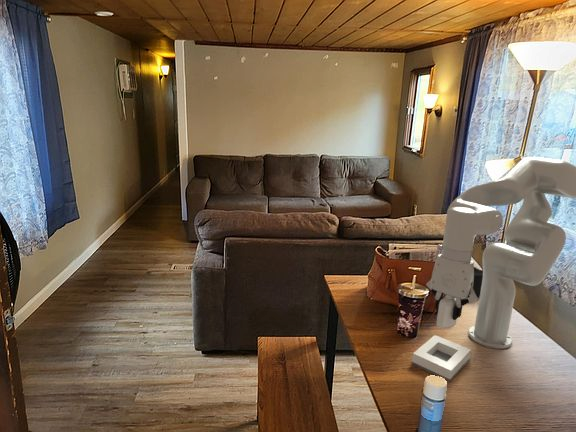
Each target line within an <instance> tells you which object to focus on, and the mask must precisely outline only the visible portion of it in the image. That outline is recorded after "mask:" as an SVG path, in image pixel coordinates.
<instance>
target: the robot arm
mask: <svg viewBox="0 0 576 432" xmlns="http://www.w3.org/2000/svg"><path fill="white" fill-rule="evenodd" d="M546 194H547V195H552V196H559V197H563V198H569V199H576V166H575V165H573V164H572V163H569V162H568V161H565V160H562V159H553V158H545V157H539V156H538V157H537V156H527V157H524V158H522V159H520V160H519V161H518V162H517V163H515V164H514V165H513V166H512V167H510V169H508V170H507V171H506V172H505V173H504V174H503V175H501V177H499V178H498V179H496V180H492V181H488V182H485V183H483V184H478V185H476V186H473V187H470V188H468V189H466V190H464V191H463V192H461V194H459V195H458V196H457V197H456V198H455V199H454V200H453V201H452V202H451V203H450V205H449V206H448V208H447V210H446V216H445V217H446V219H445V225H444V232H443V233H444V234H443V240H442V244H437V247H436V248H437V250H439V251H440V253H439V254H438V255H437V257H436V259H435V263H434V266H433V270H432V274H431V278H430V280H428V282H426V284H425V285H426V287H427V288H428V289H429V290H431V293H432V294H433V296H434V299H435V300H436V302H435V310H436V312H435V314H437V315H438V309H439V303H440V301H441V299H443V298H444V295H446V294H447V295H450V296H453V297H455V298H456V306H454V311H453V317H452V319H453V320H456V321H457V319H458V318H460V317H461V316H462V311H463V307H464V306H466V305H468V304H471V303H476V302H477V301H478V305H477V311H476V317H475V323H474V325H472V326H470V327H469V329H468V336H469V337H470V339H471V340H473V342H475V343H477V344H479V345H481V346H484V347H487V348H490V349H498V350H499V349H500V350H501V349H507V348H510V347H511V346H512V345H513V338H512V336H511V335H510V334H509V330H510V325H511V319H512V313H513V309H514V303H515V302H514V301H515V298H516V285H515V281H516V282H518V283H521V284H524V285H527V286H530V287H532V286H533V287H534V286H538V285H539V284H541V283H543V281H544V279H545V278H546V277H547V275H548V273H549V272H550V270H551V269H552V267H553V266H554V264H555V263H556V261H557V260H558V258H559V256H560V255H561V253H562V251H563V249H564V247H565V245H566V244H565V243H566V239H567V234H566V231H565V230H564V229H563V228H562V227H561V226H559V225H556V224H554V223H550V222H548V221H549V220H550V218H551V217H552V208H551V205H550V202H549V201H548V199H547V196H546ZM522 200H523V201H522ZM521 201H522V203H521V206H520V207H519V209H518V211H517V212H516V213H515V215H514V216H513V218H512V219H511V221H510V223H508V225H507V227H506V229H505V231H504V235H503V236H504V237H503V238H504V240H505V241H506V242H507V243H504V242H492V243H490V244H488V245H487V246H486V247H485V248H484V250H483V253H482V270H483V279H482V286H481V292H480V298H477V296H476V294H475V292H474V290H473V282H474V267H475V265H474V260H472V255H473V252H474V251H473V250H474V243H475V237H476V236H478V235H479V236H482V235H483V236H487V235H488V236H489V235H493V234H495V233H497V232H498V231H499V230H500V228H501V227H502V226H503V224H504V223H503V221H504V217H503V214H502V212H501V211H500V210H498V209H497V208H494V207H500V206H501V207H502V206H511V205H516V204H518V203H520V202H521ZM468 295H469V296H470V297H468Z"/></svg>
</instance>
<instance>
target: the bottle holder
mask: <svg viewBox="0 0 576 432" xmlns="http://www.w3.org/2000/svg"><path fill="white" fill-rule="evenodd" d="M471 352H472V349H470V348H467V347H466V346H463V345H461V344H458V343H456V342H454V341H451V340H449V339H446V338H443V337H441V336H438V335H436V334H435V335H433V336H432V337H430V338H429V339H427V341H426V342H424V343H423V344H422V345H421V346H420V347H419V348H417V349H416V350H415V351H414V352H413V354H412V360H411V365H413V366H416V367H417V368H419V369H421V370H424V371H426V372H428V373H430V374H432V375H434V376H436V375H438V376H441V377H443V378H445V379H446V380H447V382H449V383H450V382H451V381H452V380H453V379H454V378H455V377H456V376H457V375H458V373H460V371H461V370H462V369H463V368H464V367H465V366H466V364H467V363H469V361H470V359H471V354H472V353H471ZM438 376H437V377H438ZM446 380H445V381H446Z"/></svg>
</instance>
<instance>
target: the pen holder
mask: <svg viewBox="0 0 576 432" xmlns="http://www.w3.org/2000/svg"><path fill="white" fill-rule="evenodd" d="M482 279H483V269H481V270H480V269H479V268H477V267H475V266H474V282H473V290H474V292H475V294H476V296H477V298H478V299H479V298H480V292H481V286H482ZM469 297H470V296H469V295H468V297H467V298H469Z"/></svg>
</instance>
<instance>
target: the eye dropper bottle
mask: <svg viewBox="0 0 576 432" xmlns="http://www.w3.org/2000/svg"><path fill="white" fill-rule="evenodd" d="M444 295H445V296H443V299H441V301H440V303H439V309H438V314H437V318H436V326H437V327H439V328H440V329H451V328H454V326H456V325H457V319H456V320H453V319H452V317H453V311H454V306H456V297H453V296H450V295H447V294H444Z"/></svg>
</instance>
